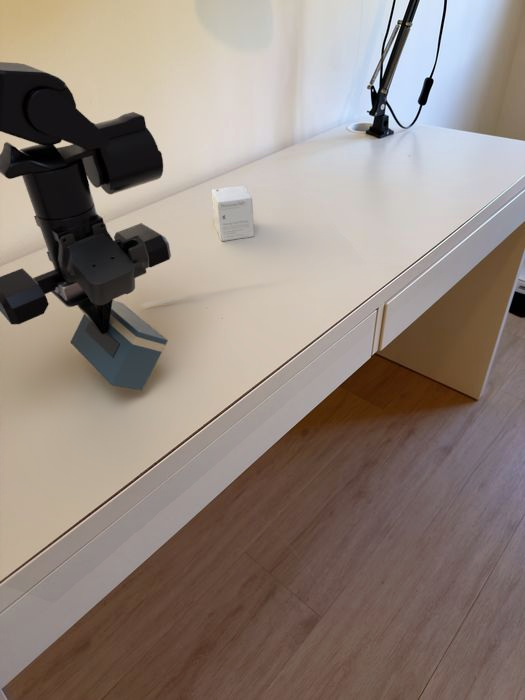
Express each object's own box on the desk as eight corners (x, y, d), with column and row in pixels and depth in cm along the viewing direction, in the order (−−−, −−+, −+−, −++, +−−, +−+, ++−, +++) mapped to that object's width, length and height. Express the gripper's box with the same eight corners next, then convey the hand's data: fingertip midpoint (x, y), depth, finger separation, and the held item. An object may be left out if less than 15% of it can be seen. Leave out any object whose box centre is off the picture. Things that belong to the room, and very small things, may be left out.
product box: (221, 242, 92) (216, 202, 87) (215, 227, 97) (210, 188, 92) (255, 237, 93) (252, 197, 88) (247, 222, 98) (245, 184, 93)
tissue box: (142, 391, 63) (168, 340, 62) (110, 385, 60) (138, 331, 59) (99, 349, 70) (122, 303, 69) (69, 342, 66) (92, 293, 65)
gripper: (-1, 272, 43) (57, 406, 53) (188, 201, 52) (206, 327, 62) (-42, 229, 50) (16, 355, 60) (131, 173, 59) (156, 290, 69)
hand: (103, 331), depth 62 cm, fingers closed
